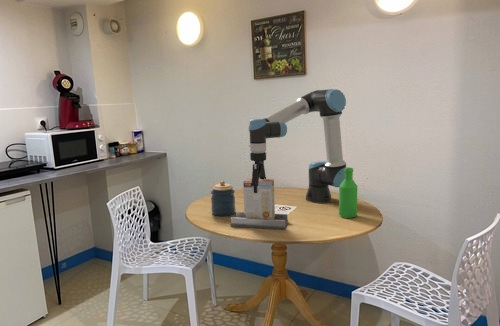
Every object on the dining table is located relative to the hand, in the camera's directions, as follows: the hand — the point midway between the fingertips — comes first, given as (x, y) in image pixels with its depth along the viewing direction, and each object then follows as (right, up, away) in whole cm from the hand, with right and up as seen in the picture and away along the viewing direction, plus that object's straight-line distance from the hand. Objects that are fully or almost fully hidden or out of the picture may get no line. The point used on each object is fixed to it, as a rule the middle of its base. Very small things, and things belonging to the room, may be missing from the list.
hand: (259, 195), depth 165 cm
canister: (-19, -11, +21) cm, 31 cm away
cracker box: (0, -13, +3) cm, 13 cm away
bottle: (+46, -12, +11) cm, 48 cm away
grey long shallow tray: (0, -14, +2) cm, 14 cm away
